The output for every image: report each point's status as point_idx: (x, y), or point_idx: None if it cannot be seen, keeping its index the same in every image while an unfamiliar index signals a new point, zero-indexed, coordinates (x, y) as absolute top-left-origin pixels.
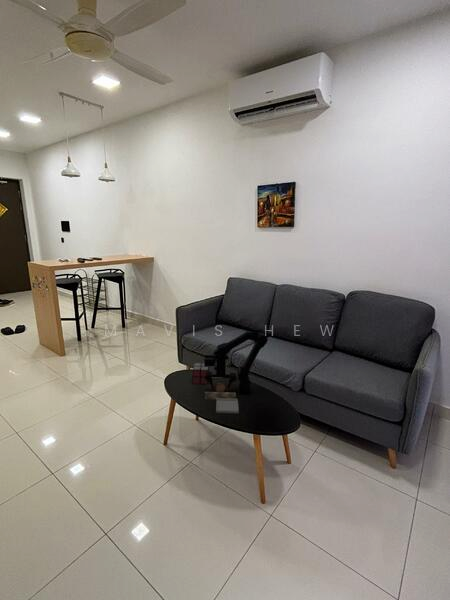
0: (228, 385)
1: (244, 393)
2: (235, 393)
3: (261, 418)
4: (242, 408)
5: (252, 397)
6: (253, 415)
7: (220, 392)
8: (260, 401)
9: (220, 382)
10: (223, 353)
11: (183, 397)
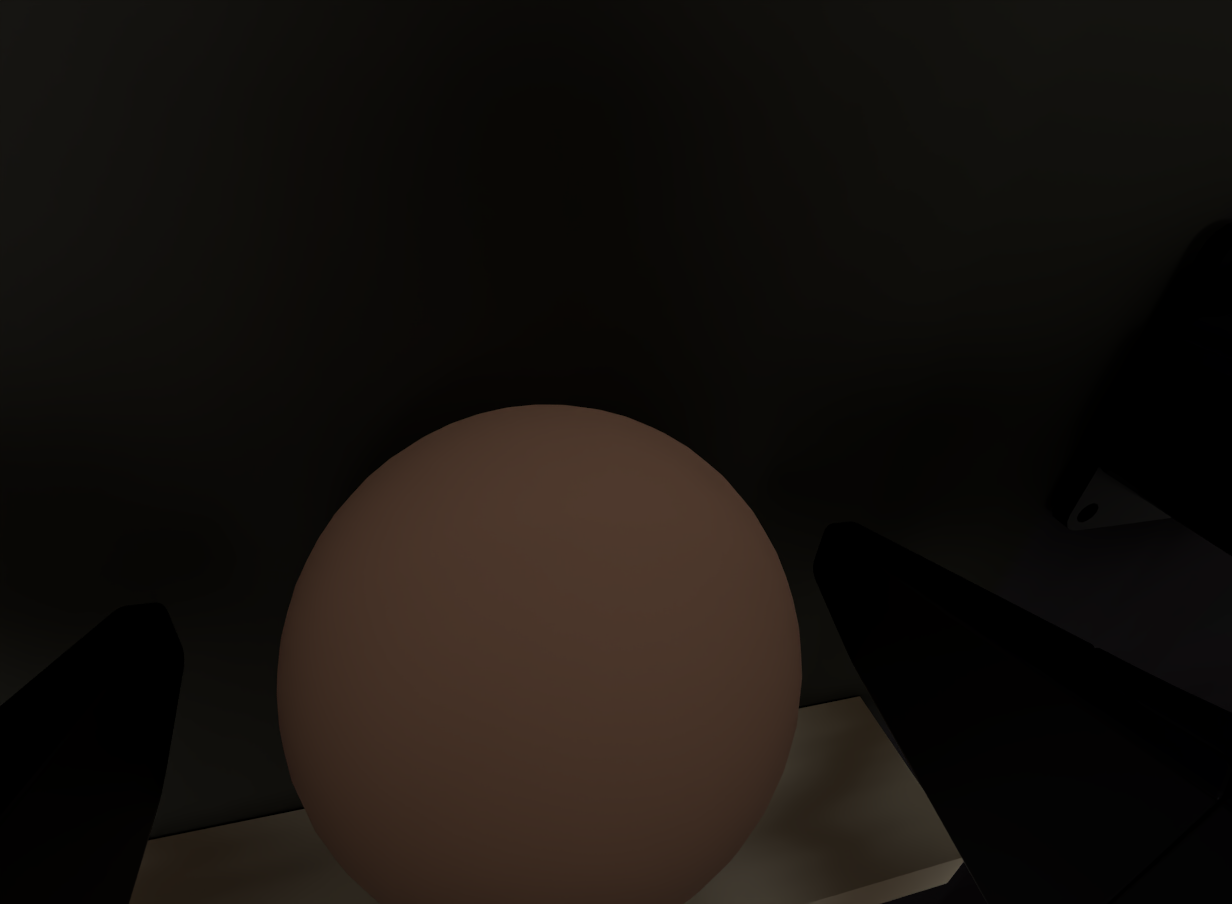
0: (950, 833)
1: (1146, 510)
2: (944, 880)
3: (978, 900)
4: None
5: (1180, 593)
6: (927, 896)
7: None
8: (1201, 666)
9: (611, 829)
10: None
11: None
